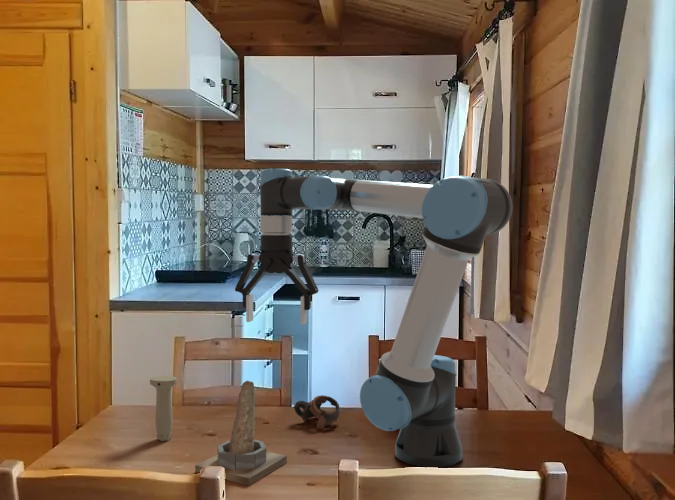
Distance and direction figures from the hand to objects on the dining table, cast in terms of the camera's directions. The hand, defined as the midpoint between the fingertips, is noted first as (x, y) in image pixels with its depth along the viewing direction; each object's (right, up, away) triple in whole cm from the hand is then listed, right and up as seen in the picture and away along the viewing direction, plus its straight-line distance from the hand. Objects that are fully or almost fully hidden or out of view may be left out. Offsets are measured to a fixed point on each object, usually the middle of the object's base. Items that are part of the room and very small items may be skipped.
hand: (276, 322), depth 158 cm
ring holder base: (-6, -30, -16) cm, 34 cm away
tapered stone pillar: (-6, -28, -16) cm, 33 cm away
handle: (-27, -29, +2) cm, 40 cm away
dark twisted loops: (+9, -28, +14) cm, 33 cm away
